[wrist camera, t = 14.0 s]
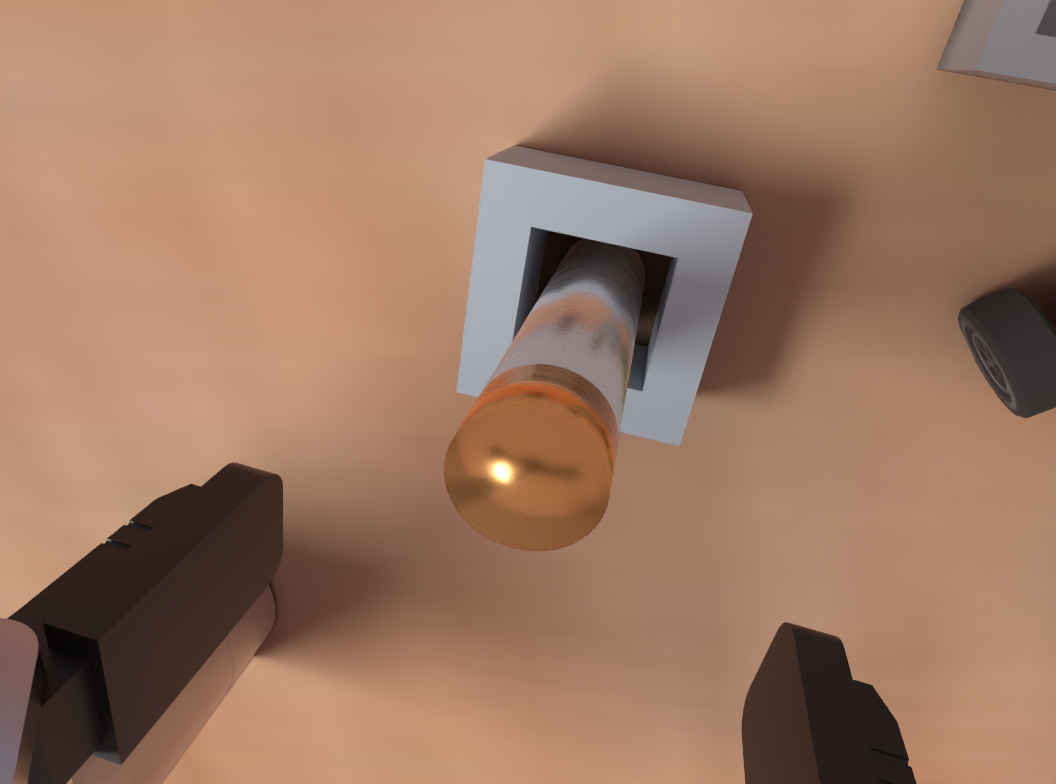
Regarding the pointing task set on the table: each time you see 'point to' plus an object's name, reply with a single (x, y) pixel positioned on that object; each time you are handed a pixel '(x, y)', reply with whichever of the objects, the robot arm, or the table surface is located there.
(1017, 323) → the motor vehicle
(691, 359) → the socket
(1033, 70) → the tray
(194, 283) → the table surface
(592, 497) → the pin
